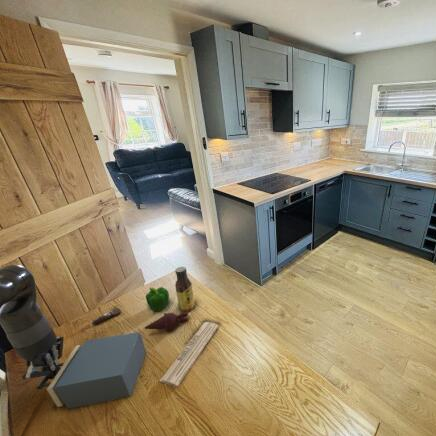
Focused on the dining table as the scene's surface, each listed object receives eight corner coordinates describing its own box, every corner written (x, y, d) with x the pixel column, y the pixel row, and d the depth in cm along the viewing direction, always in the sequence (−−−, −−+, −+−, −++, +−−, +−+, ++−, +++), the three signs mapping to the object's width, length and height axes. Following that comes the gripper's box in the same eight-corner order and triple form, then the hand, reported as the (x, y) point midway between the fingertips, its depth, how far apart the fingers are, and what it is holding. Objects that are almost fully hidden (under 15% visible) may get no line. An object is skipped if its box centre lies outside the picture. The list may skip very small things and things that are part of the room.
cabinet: (67, 409, 67) (54, 387, 63) (94, 360, 80) (85, 340, 76) (130, 396, 70) (121, 374, 66) (146, 351, 84) (139, 331, 80)
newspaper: (178, 387, 73) (177, 384, 72) (158, 381, 74) (157, 377, 74) (218, 327, 94) (218, 324, 93) (203, 323, 95) (202, 320, 95)
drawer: (34, 411, 65) (22, 394, 62) (65, 365, 78) (56, 348, 74) (116, 395, 70) (108, 377, 67) (133, 353, 82) (127, 337, 79)
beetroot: (143, 331, 84) (189, 320, 91) (143, 313, 89) (186, 303, 96) (145, 342, 87) (189, 329, 94) (145, 324, 93) (187, 313, 100)
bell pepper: (174, 304, 104) (170, 286, 100) (156, 316, 98) (151, 298, 94) (163, 297, 108) (159, 279, 104) (145, 308, 102) (140, 290, 98)
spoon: (94, 327, 92) (92, 323, 92) (91, 323, 94) (90, 319, 93) (122, 313, 99) (121, 309, 98) (119, 309, 101) (118, 305, 100)
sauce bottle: (191, 313, 100) (184, 274, 92) (177, 313, 100) (168, 274, 92) (197, 302, 106) (191, 265, 98) (184, 302, 106) (176, 264, 98)
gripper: (33, 317, 69) (56, 358, 76) (-8, 359, 57) (23, 403, 64) (64, 313, 70) (83, 353, 77) (30, 353, 59) (56, 396, 65)
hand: (56, 376), depth 70 cm, fingers closed
